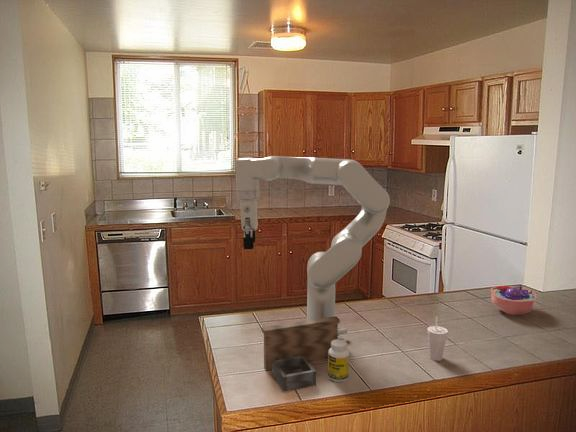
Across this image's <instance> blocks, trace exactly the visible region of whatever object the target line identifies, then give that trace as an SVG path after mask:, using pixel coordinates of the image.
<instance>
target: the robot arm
mask: <svg viewBox="0 0 576 432" xmlns="http://www.w3.org/2000/svg"><path fill="white" fill-rule="evenodd" d="M234 164H235V166H234V167H235V189H236V201H237V202H240V203H239V205H240V207H239V208H240V221H241V222H240V224H241V230H242V231H243V237H242V240H243V241H242V242H243V250H253V249H254V243H256V230H258V227H259V222H258V203H257V201H259V200H260V181H268V182H270V181H274V180H276V179H291V180H298V181H302V182H305V183H308V184H313V185H333V186H343V188H344V189H345V190H346V191H347V192H348V193H349V194H350V195H351V196H352V198H354V200H355V201H357V202H358V204H359V205H361V208H360V211H359V213H358V214H357V215H356V216H355V218H354V219H352V221H351V222H350V223H348V224H347V226H345V227H344V228H343V229H342V230H341V231H339V232H338V233H337V234H336V235H335V236H334V237H333V238H332V240H331V244H330V247H329V249H327V250H326V251H316V252H315V253H313V254H311V256H310V257H309V259H308V261H307V267H306V271H307V272H306V275H307V276H306V277H307V278H306V279H307V286H306V289H307V290H306V291H307V292H306V293H307V294H306V295H307V300H306V302H307V303H306V321H308V320H314V319H321V318H328V317H335V316H336V315H335V314H336V310H335V309H336V283H337V282H338V281H339V280H341V279H342V278H343V277H344V276H345V275H347V273H348V272H350V270H352V269H353V268H354V267H355V266H356V265H357V264H358V262H359V261H360V259H361V257H362V253H363V251H362V249H363V247H364V246H365V245H366V244H368V242H369V241H371V239H372V238H373V237H374V236H375V235H376V234H377V233H379V230H380V229H381V228H382V226H383V224H384V222H385V220H386V216H387V210H388V208H389V207H390V204H391V199H390V195H389V193H388V192H387V190H386V189H384V187H383V186H382V185H381V184H379V182H378V181H377V180H375V178H374V177H372V175H371V174H370V173H369V172H368V171H367V170H366V168H364V167H363V165H362V163H359V162H358V161H357V160H355V159H349V158H329V157H315V156H313V157H311V156H309V157H299V156H298V157H296V156H280V155H274V156H273V155H270V156H266V157H263V158H255V157H239V158H236V160H235V163H234ZM345 334H348V330H347V328H346V327H345V328H342V327H341V326H338V334H337V339H339V336H340V335H345Z"/></svg>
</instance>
